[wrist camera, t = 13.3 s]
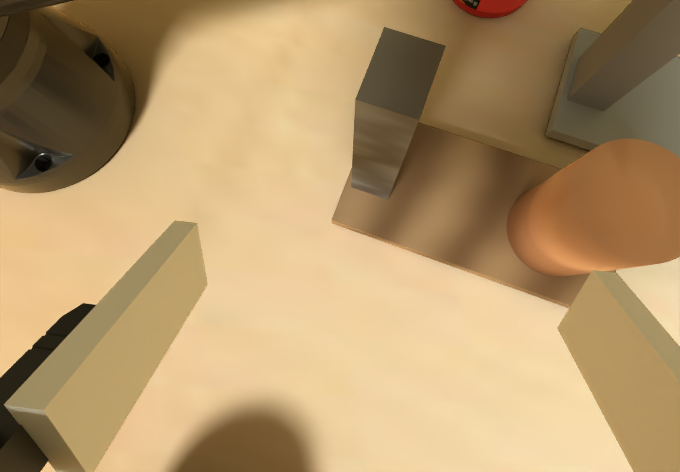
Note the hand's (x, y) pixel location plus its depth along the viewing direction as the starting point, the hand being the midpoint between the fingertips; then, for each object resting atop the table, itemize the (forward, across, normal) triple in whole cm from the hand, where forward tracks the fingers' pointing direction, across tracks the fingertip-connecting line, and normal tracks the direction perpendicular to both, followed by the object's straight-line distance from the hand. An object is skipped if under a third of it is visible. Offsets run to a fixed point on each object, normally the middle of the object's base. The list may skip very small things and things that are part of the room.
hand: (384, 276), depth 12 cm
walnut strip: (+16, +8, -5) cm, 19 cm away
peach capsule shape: (+14, +14, -6) cm, 21 cm away
